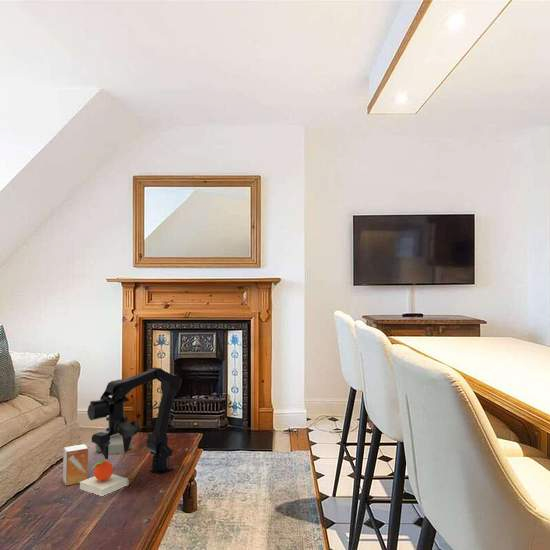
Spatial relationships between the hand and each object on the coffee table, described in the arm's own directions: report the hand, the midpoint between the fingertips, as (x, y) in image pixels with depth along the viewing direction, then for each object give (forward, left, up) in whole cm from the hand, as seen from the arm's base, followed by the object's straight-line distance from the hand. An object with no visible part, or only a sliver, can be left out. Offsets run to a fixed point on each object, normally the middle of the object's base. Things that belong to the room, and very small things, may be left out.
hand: (116, 455), depth 186 cm
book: (+4, -2, -11) cm, 12 cm away
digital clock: (-25, -31, -11) cm, 41 cm away
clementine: (+5, -2, -8) cm, 10 cm away
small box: (+6, -16, -11) cm, 21 cm away
